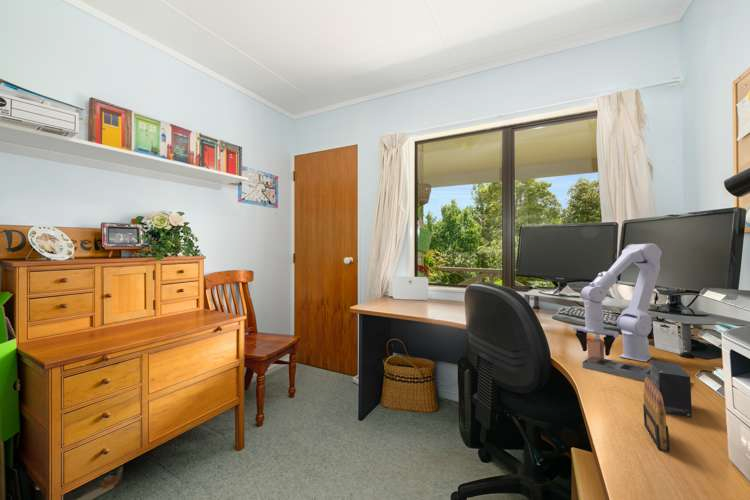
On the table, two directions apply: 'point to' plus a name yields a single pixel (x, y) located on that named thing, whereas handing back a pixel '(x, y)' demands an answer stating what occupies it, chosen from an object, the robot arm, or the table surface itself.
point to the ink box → (667, 338)
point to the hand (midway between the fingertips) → (596, 352)
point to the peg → (595, 348)
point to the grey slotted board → (617, 368)
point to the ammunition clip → (655, 416)
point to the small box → (672, 387)
